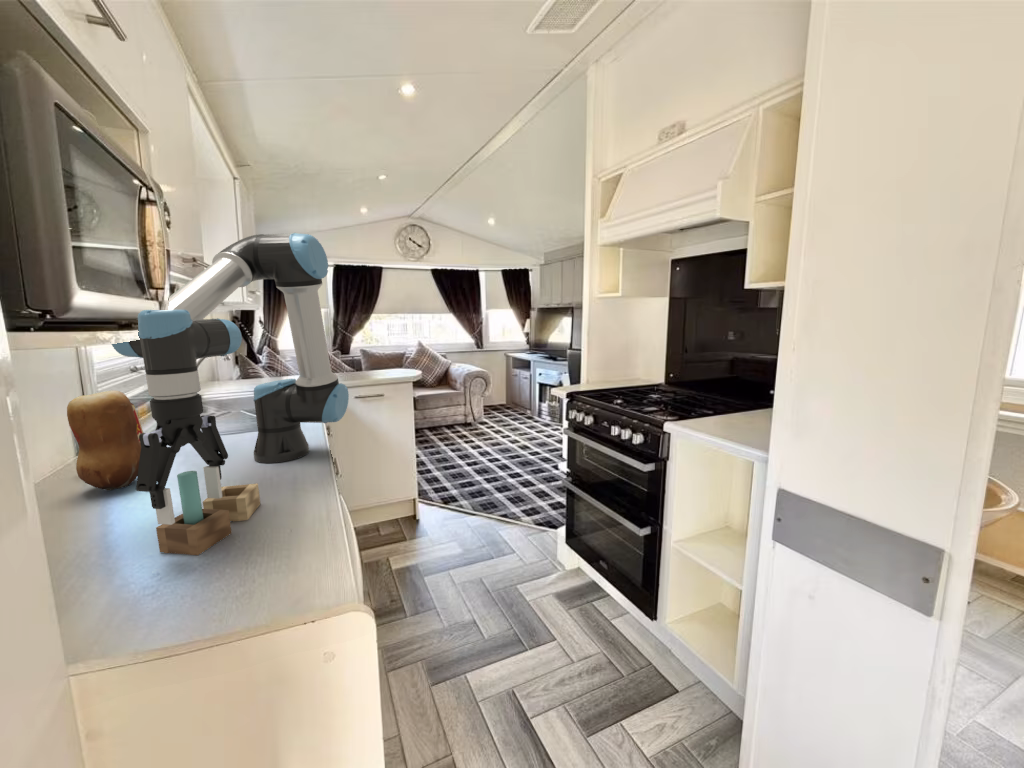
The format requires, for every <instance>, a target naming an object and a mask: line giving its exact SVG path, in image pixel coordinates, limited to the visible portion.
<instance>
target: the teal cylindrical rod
mask: <svg viewBox="0 0 1024 768" xmlns="http://www.w3.org/2000/svg"><path fill="white" fill-rule="evenodd" d="M176 477H177V483H178V491H179V496H180V504H181V510H182V514H183V518H184V524H191V525H195V524H196V523H198V522H200V521H202V520H203V519H204V518H203V511H202V509H203V506H202V505H203V503H202V499H201V493H200V485H199V479H198V478H199V477H198V472H197V471H196V470H187V471H184V472H180V473H178V474H177V476H176Z"/></svg>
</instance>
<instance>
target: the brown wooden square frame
mask: <svg viewBox="0 0 1024 768" xmlns="http://www.w3.org/2000/svg"><path fill="white" fill-rule="evenodd" d="M202 511H203V518H204V519H203V520H202V521H200V522H198V523H196V524H195V525H191V524H184V518H183V513H181V514H179V515H177V516H174V518H175V523H174V524H172V525H168V524H159V525H158V526H156V527H155V531H156V536H157V543H158V550H159V553H160V552H164V553H163V554H173V555H174V554H176V555H188V556H200V555H201V554H203V553H204V552H206V551H207V550H209V549H211V548H212V547H214V546H215V545H216V544H218V543H220V542H221V541H222V540H224V539H225V538H227V537H228V536H229V534H230V535H232V532H233V531H232V527H231V525H232V524H231V522H230V517H229V510H218V509H204V508H202ZM226 536H227V537H226ZM223 538H224V539H223ZM220 540H221V541H220ZM217 542H218V543H217ZM214 544H215V545H214ZM211 546H212V547H211ZM208 548H209V549H208ZM205 550H206V551H205ZM202 552H203V553H202ZM199 554H200V555H199Z"/></svg>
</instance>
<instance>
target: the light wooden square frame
mask: <svg viewBox="0 0 1024 768" xmlns="http://www.w3.org/2000/svg"><path fill="white" fill-rule="evenodd" d="M221 489H222V498H220V499H217V498H208V497H206V498H205V499H204V500H203V501H202V505H203V506H202V509H218V510H229V517H230V521H233V522H241V521H248V520H249V519H250V518H251V517H252V515H253V514H254V513H255V512H256V510H257V509H258V508H259V506H260V505H261V498H260V490H259V483H249V484H248V483H247V484H238V485H226V486H221Z"/></svg>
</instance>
